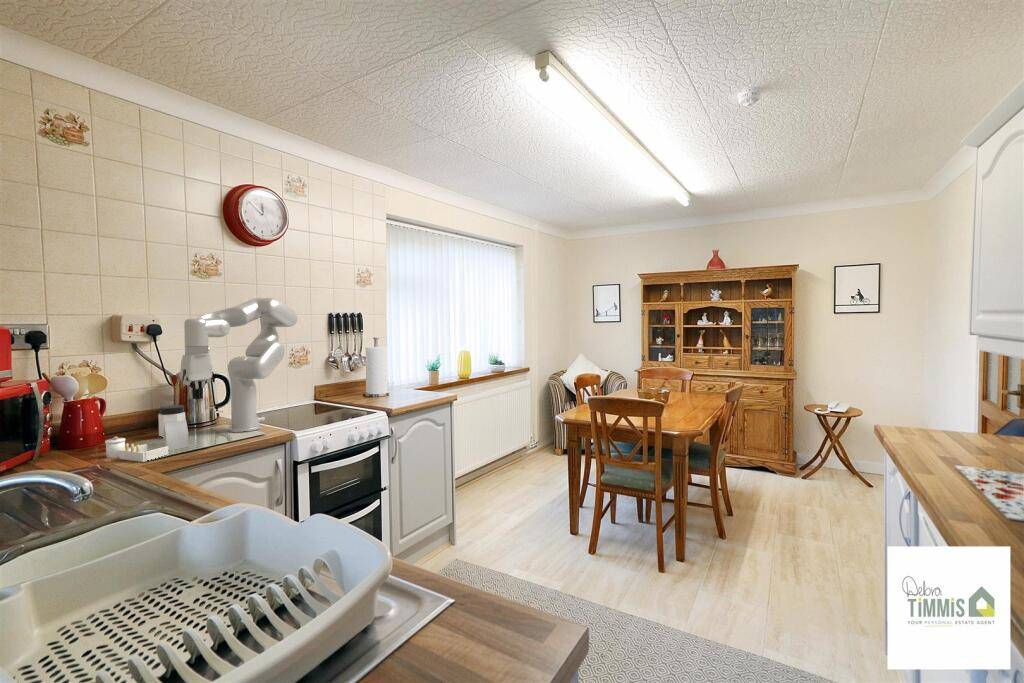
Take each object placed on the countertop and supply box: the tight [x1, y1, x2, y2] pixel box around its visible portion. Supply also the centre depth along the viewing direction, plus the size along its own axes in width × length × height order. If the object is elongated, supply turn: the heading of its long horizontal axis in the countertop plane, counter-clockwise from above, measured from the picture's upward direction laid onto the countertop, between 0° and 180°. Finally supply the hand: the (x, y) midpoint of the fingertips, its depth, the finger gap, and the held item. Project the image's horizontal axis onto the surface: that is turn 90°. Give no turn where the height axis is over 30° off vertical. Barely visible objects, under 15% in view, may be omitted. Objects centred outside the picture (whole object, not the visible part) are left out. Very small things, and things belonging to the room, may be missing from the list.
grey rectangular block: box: [162, 419, 190, 451], centre depth 172 cm, size 4×7×10 cm, turn 141°
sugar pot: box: [104, 436, 126, 459], centre depth 163 cm, size 5×5×7 cm
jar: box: [158, 404, 186, 437], centre depth 191 cm, size 9×8×12 cm
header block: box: [118, 442, 169, 463], centre depth 161 cm, size 8×11×5 cm
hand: (197, 398), depth 180 cm, fingers closed
